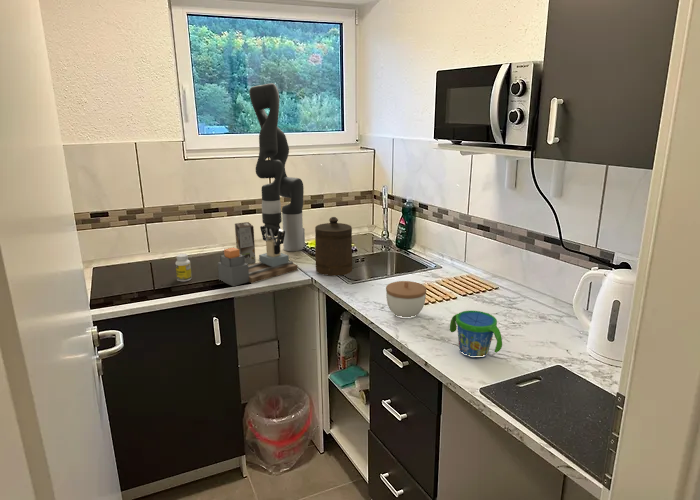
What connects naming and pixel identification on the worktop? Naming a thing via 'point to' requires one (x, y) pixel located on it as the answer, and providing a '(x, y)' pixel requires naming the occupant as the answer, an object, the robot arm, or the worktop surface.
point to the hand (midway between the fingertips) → (273, 252)
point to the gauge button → (231, 252)
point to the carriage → (273, 256)
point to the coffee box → (245, 241)
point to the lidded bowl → (405, 298)
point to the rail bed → (268, 270)
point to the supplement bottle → (183, 268)
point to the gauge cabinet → (233, 270)
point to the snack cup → (476, 332)
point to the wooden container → (333, 248)
